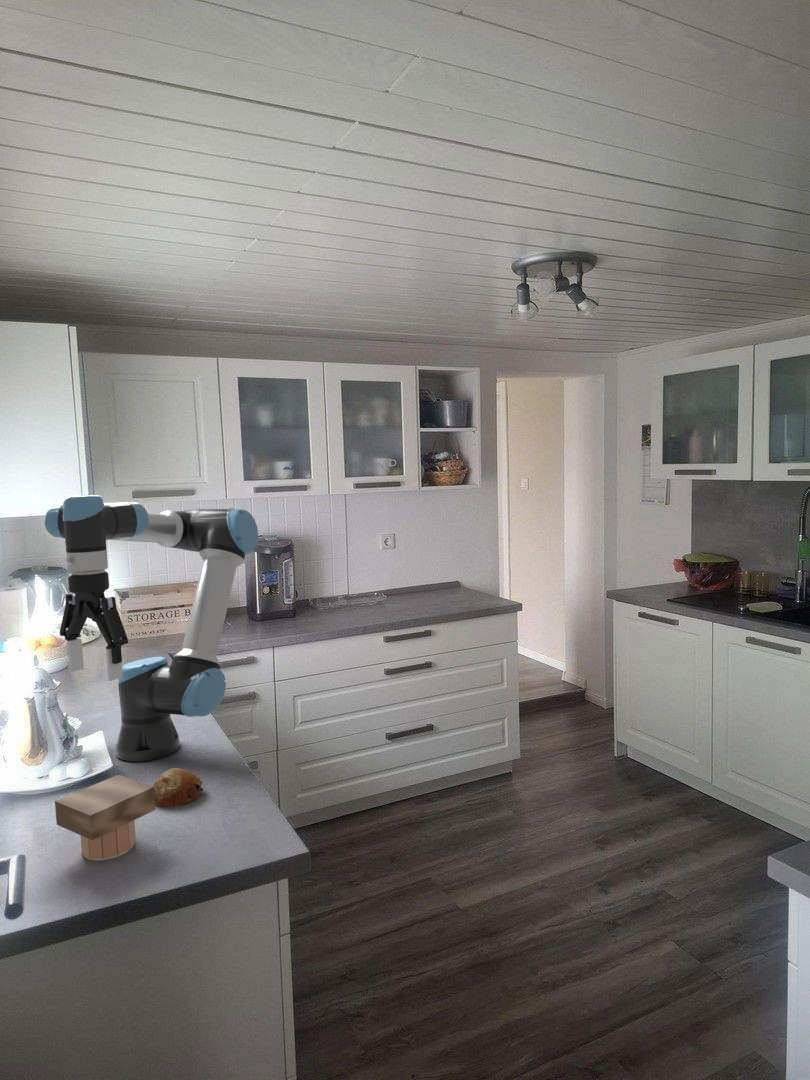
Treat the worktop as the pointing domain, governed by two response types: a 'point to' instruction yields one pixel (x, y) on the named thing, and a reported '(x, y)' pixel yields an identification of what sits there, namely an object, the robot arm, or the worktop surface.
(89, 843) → the wooden tub
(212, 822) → the worktop surface
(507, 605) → the worktop surface
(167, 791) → the bread roll
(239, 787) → the worktop surface
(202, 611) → the robot arm
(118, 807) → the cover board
